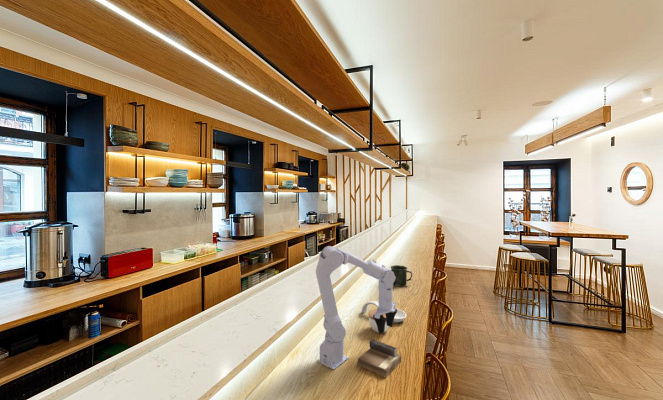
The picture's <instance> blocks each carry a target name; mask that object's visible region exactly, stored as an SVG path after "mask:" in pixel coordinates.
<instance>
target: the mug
mask: <svg viewBox="0 0 663 400" xmlns="http://www.w3.org/2000/svg"><path fill="white" fill-rule="evenodd" d="M390 270H391V271H393V273H394V275H395V277H396V279H395V281H394V283H393V287H399V288H400V287H406V286H407V285H408V284H407V282H410V281H411V280H412V278H413V273H412V271H410V270H408V267H407V266H405V265H400V264H399V265H397V264H395V265H391V266H390ZM408 273H409V274H410V277H409V278H408V277H407V275H408ZM407 278H408V279H407Z"/></svg>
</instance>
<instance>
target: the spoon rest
mask: <svg viewBox="0 0 663 400" xmlns="http://www.w3.org/2000/svg"><path fill="white" fill-rule="evenodd" d="M369 305H375V306H376V307H377V308H378V306H379V300H369V301H367V302H365V304H364V305H362V308H361V314H364V313H366V311H367V309H368V306H369ZM394 309H397V313H396V315H395V317H394V321H393V324H394V323H395V324H396V323H400V322H403V321H405V319H406V318H407V313H406V312H405V311H404V310H402V309H399V308H398V307H395V308H394Z"/></svg>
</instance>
